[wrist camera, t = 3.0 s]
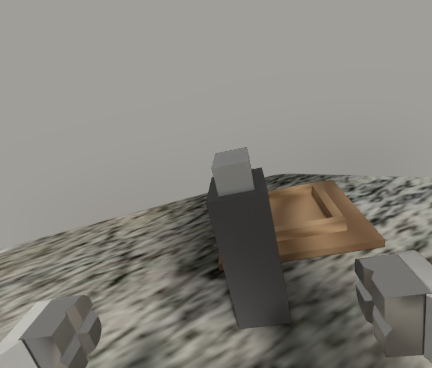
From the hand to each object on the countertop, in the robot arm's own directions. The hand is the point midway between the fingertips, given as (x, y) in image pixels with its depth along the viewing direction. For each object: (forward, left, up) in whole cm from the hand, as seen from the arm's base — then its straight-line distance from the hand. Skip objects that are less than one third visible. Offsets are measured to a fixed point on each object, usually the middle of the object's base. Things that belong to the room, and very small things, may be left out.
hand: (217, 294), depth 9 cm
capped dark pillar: (0, -12, -12) cm, 17 cm away
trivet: (-4, -25, -12) cm, 28 cm away
